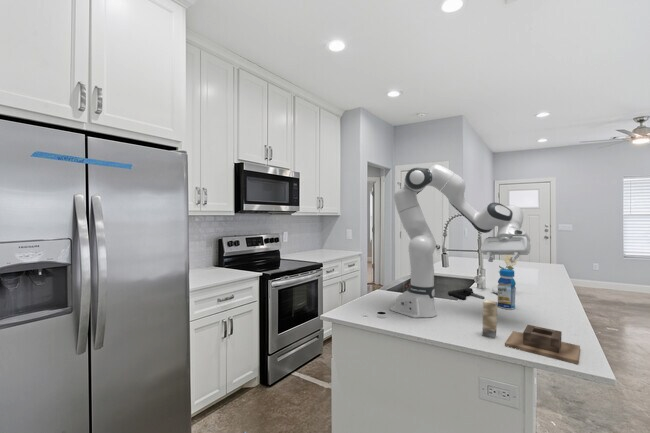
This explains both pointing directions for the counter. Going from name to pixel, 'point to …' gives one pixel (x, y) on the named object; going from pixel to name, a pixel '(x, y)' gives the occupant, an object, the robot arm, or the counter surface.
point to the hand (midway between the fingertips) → (500, 261)
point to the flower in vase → (507, 261)
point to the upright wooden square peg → (489, 318)
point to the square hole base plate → (544, 343)
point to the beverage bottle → (506, 289)
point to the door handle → (464, 294)
